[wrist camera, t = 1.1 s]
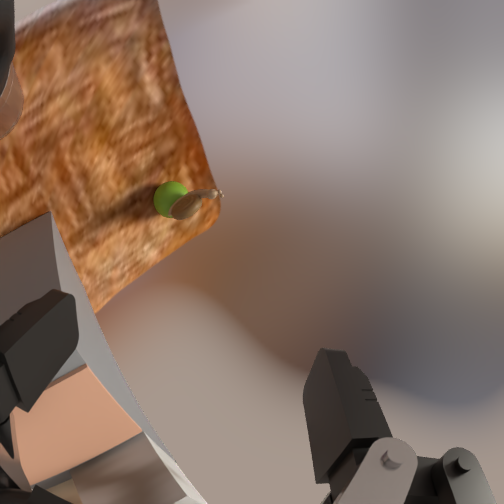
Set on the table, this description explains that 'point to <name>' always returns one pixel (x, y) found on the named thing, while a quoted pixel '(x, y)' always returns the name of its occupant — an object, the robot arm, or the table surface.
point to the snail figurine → (180, 200)
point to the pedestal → (65, 366)
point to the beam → (129, 477)
